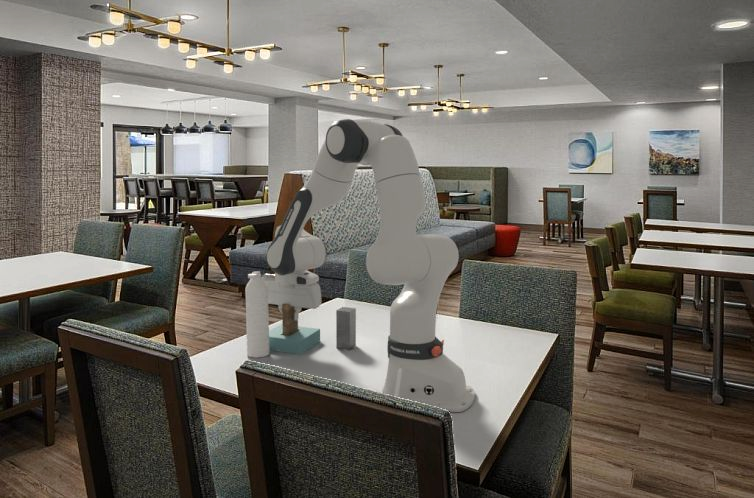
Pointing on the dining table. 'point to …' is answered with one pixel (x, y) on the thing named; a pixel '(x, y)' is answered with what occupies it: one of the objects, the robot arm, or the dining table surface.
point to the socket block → (293, 339)
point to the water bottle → (257, 316)
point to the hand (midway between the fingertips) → (290, 319)
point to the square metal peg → (346, 328)
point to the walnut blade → (288, 320)
